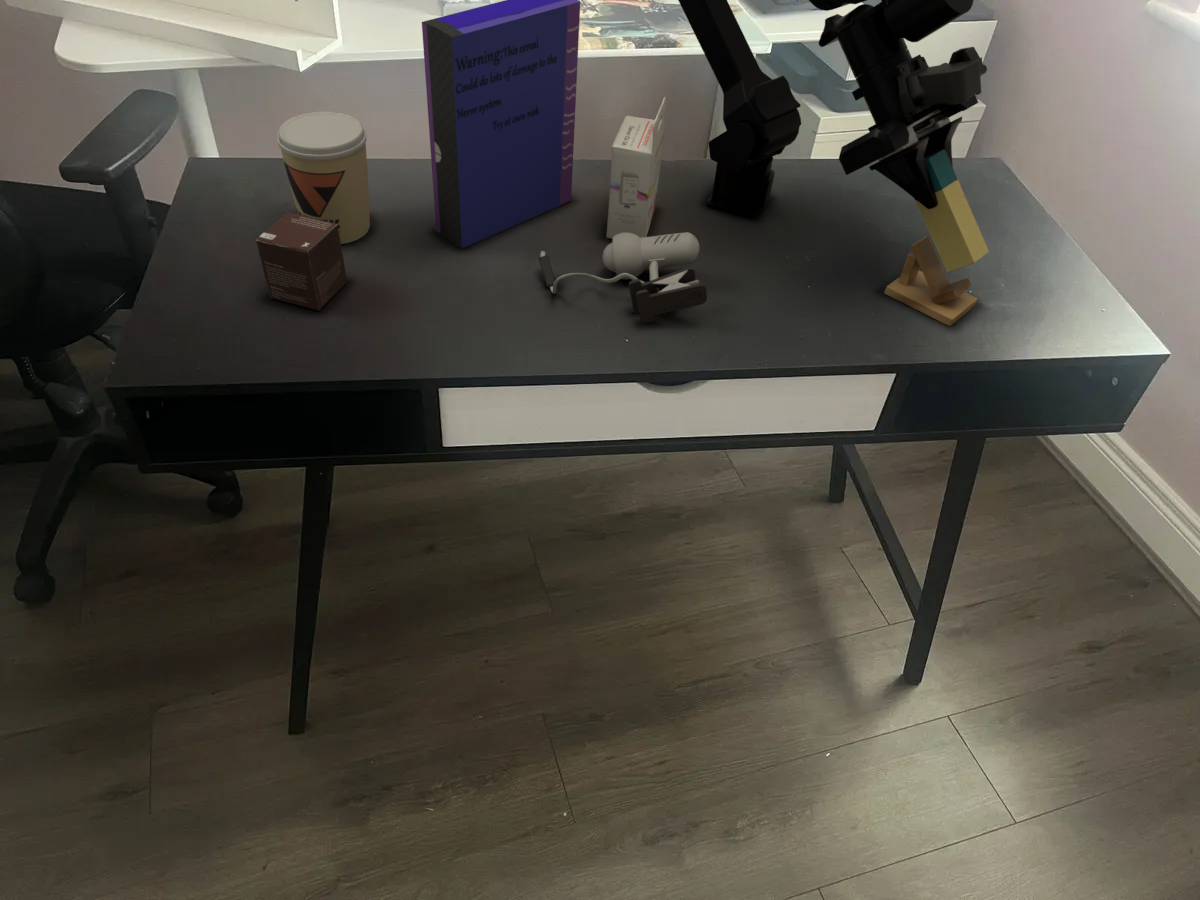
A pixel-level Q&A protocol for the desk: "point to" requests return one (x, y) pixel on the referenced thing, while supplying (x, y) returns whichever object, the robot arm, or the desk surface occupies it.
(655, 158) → the ink cartridge box
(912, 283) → the tan wooden stand
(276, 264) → the box
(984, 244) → the two-tone square bar
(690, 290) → the clip-on lamp
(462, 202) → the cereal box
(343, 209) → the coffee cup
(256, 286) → the desk surface
